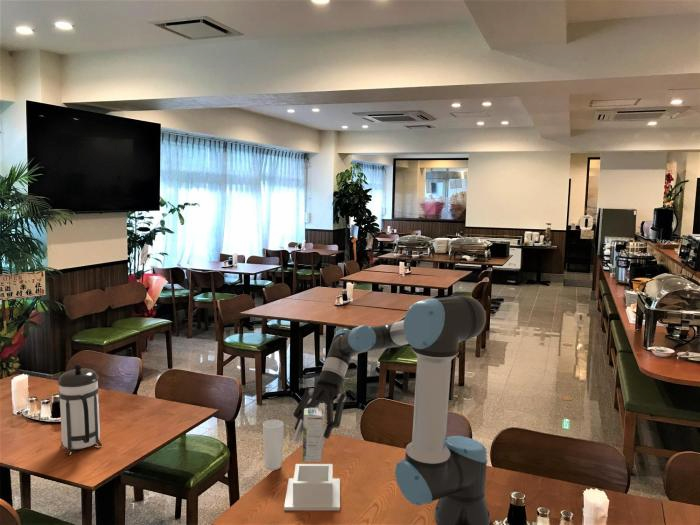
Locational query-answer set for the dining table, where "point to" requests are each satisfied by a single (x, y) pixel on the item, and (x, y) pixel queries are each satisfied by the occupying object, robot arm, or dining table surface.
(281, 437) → the drinking glass
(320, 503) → the holder
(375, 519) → the dining table surface
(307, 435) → the syrup box
